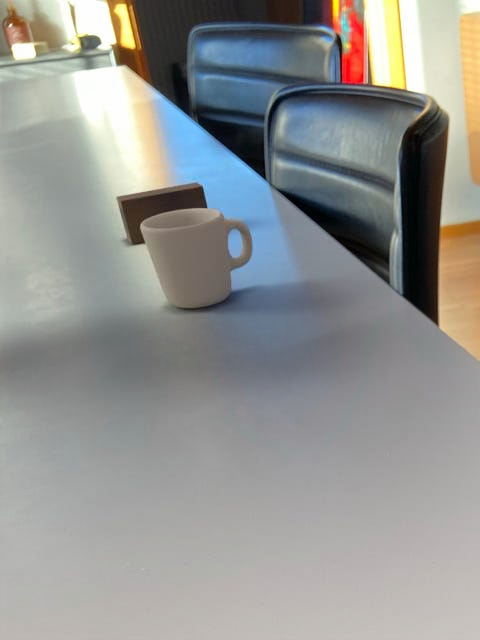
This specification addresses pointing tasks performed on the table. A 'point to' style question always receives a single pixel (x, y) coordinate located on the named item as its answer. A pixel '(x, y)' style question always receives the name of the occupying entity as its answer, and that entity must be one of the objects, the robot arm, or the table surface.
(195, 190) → the stop strip
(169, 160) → the table surface
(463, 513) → the table surface
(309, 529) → the table surface
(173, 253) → the cup
